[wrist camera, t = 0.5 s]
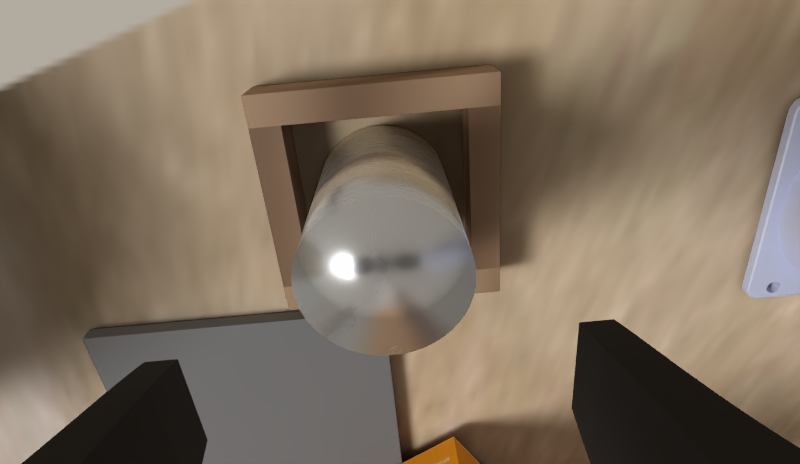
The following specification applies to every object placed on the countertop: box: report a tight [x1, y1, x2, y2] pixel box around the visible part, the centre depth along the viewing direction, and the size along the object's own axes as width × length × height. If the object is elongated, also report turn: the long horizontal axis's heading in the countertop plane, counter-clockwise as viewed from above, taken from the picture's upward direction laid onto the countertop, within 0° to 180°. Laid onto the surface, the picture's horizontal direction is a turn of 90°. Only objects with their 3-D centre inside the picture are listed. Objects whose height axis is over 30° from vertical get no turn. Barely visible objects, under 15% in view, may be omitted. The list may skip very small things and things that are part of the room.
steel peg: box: [291, 125, 476, 356], centre depth 15 cm, size 4×4×6 cm
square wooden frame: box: [241, 65, 501, 310], centre depth 17 cm, size 8×8×2 cm
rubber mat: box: [83, 311, 403, 464], centre depth 23 cm, size 12×12×1 cm
